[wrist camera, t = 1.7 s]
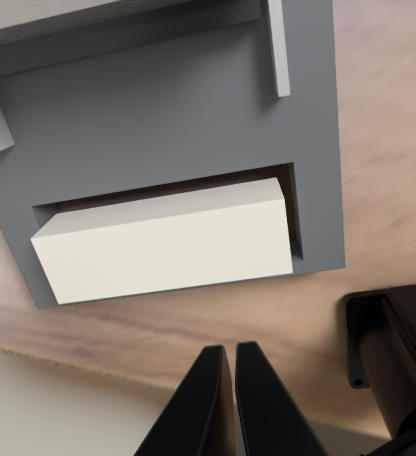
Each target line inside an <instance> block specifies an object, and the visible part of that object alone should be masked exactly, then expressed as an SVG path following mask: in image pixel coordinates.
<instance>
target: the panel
mask: <svg viewBox="0 0 416 456" xmlns="http://www.w3.org/2000/svg"><path fill="white" fill-rule="evenodd" d="M259 2H260V11H261V19H260V20H258V21H253V22H249V23H244V24H240V25H235V26H231V27H226V28H222V29H217V30H212V31H208V32H203V33H199V34H194V35H190V36H185V37H180V38H176V39H171V40H167V41H162V42H158V43H153V44H149V45H144V46H139V47H135V48H130V49H126V50H121V51H117V52H112V53H108V54H103V55H98V56H94V57H89V58H85V59H80V60H76V61H71V62H67V63H62V64H57V65H53V66H48V67H44V68H39V69H35V70H30V71H25V72H21V73H16V74H12V75H7V76H3V77H0V227H1V230H2V232H3V234H4V236H5V238H6V240H7V242H8V245H9V247H10V249H11V251H12V253H13V255H14V258H15V260H16V262H17V264H18V266H19V268H20V271H21V273H22V275H23V277H24V279H25V281H26V284H27V286H28V288H29V290H30V292H31V294H32V297H33V299H34V301H35V303H36V305H37V307H38V309H40V308H48V307H55V306H63V305H70V304H78V303H85V302H93V301H101V300H108V299H116V298H123V297H131V296H138V295H146V294H153V293H161V292H168V291H176V290H184V289H191V288H199V287H206V286H214V285H221V284H229V283H236V282H244V281H251V280H259V279H267V278H274V277H282V276H289V275H297V274H304V273H312V272H319V271H327V270H334V269H342V268H345V250H344V230H343V210H342V189H341V169H340V149H339V128H338V108H337V88H336V67H335V47H334V27H333V6H332V0H259ZM284 163H288V164H289V173H290V183H291V192H292V201H293V211H294V220H295V229H296V239H297V240H293V241H289V243H290V252H291V260H292V269H293V273H289V274H282V275H274V276H267V277H259V278H252V279H244V280H237V281H229V282H222V283H214V284H207V285H199V286H192V287H184V288H177V289H169V290H162V291H154V292H147V293H139V294H132V295H124V296H117V297H109V298H102V299H94V300H87V301H79V302H72V303H64V304H58V302H57V299H56V297H55V295H54V292H53V290H52V288H51V285H50V283H49V281H48V278H47V276H46V274H45V271H44V269H43V267H42V265H41V262H40V260H39V258H38V255H37V253H36V251H35V248H34V246H33V244H32V241H31V238H32V237H33V236H34V235H35V234H36V233H37V232H38V231H39V230H40V229H41V228H42V227H43V226H44V225H45V224H46V223H47V222H48V221H49V220H50V219H52V218H53V217H54V216H55V215H56V214H59V212H58V209H57V207H56V204H55V202H60V201H66V200H72V199H78V198H84V197H89V196H95V195H101V194H107V193H113V192H119V191H125V190H131V189H137V188H142V187H148V186H154V185H160V184H166V183H172V182H178V181H184V180H189V179H195V178H201V177H207V176H213V175H219V174H225V173H231V172H237V171H242V170H248V169H254V168H260V167H266V166H272V165H278V164H284Z"/></svg>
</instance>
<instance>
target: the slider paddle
mask: <svg viewBox="0 0 416 456" xmlns="http://www.w3.org/2000/svg"><path fill="white" fill-rule="evenodd" d="M260 19H261V11H260V2H259V0H0V77H3V76H7V75H12V74H16V73H21V72H25V71H30V70H35V69H39V68H44V67H48V66H53V65H57V64H62V63H67V62H71V61H76V60H80V59H85V58H89V57H94V56H98V55H103V54H108V53H112V52H117V51H121V50H126V49H130V48H135V47H139V46H144V45H149V44H153V43H158V42H162V41H167V40H171V39H176V38H180V37H185V36H190V35H194V34H199V33H203V32H208V31H212V30H217V29H222V28H226V27H231V26H235V25H240V24H244V23H249V22H253V21H258V20H260Z"/></svg>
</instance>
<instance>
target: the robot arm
mask: <svg viewBox="0 0 416 456" xmlns="http://www.w3.org/2000/svg"><path fill="white" fill-rule="evenodd" d="M355 301H358V302H357V303H356V304H354V305H352V304H351V303H352V302H355ZM344 320H345V338H346V357H347V376H348V380H349V383H350V386H351V387H352V388H355V389H361V388H371V390H372V392H373V395H374V397H375V400H376V402H377V405H378V407H379V409H380V412H381V414H382V417H383V419H384V422H385V424H386V426H387V429H388V431H389V434H390V436H391V439H392V440H390V441H388V442H387V443H385V444H383V445H381V446H380V447H378V448H376V449H375V450H373V451H371V452H369V453H368V454H366V455H363V454H361V455H359V456H416V285H409V286H401V287H393V288H388V289H380V290H372V291H364V292H356V293H351V294H348V295H347V296H346V297H345V298H344ZM357 379H359V380H357ZM235 392H236V400H237V405H238V411H239V416H240V422H241V428H242V434H243V439H244V445H245V450H246V456H329V455H328V453H327V452H326V450H325V449H324V447H323V446H322V444H321V442H320V441H319V439H318V437H317V436H316V434H315V433H314V431H313V430H312V428H311V427H310V425H309V423H308V422H307V420H306V419H305V417H304V416H303V414H302V412H301V411H300V409H299V408H298V406H297V405H296V403H295V401H294V400H293V398H292V397H291V395H290V394H289V392H288V390H287V389H286V387H285V386H284V384H283V383H282V381H281V379H280V378H279V376H278V375H277V373H276V372H275V370H274V368H273V367H272V365H271V364H270V362H269V361H268V359H267V357H266V356H265V354H264V353H263V351H262V350H261V348H260V346H259V345H258V343H257V342H256V341H245V342H238V343H237V345H236V369H235ZM234 427H235V426H234V410H233V393H232V380H231V373H230V369H229V364H228V360H227V355H226V351H225V348H224V346H223V345H221V344H219V345H210V346H205V347H204V348H203V349H202V351H201V352H200V354H199V355H198V357H197V358H196V360H195V361H194V363H193V365H192V366H191V368H190V369H189V371H188V372H187V374H186V375H185V377H184V378H183V380H182V382H181V383H180V385H179V386H178V388H177V389H176V391H175V392H174V394H173V395H172V397H171V399H170V400H169V402H168V403H167V405H166V406H165V408H164V409H163V411H162V412H161V414H160V416H159V417H158V419H157V421H156V422H155V423H154V425H153V426H152V428H151V430H150V431H149V433H148V434H147V436H146V437H145V439H144V440H143V442H142V443H141V445H140V447H139V448H138V450H137V451H136V453H135V454H134V456H236V443H235V428H234Z"/></svg>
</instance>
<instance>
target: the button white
mask: <svg viewBox="0 0 416 456" xmlns="http://www.w3.org/2000/svg"><path fill="white" fill-rule="evenodd" d="M31 241H32V244H33V246H34V248H35V251H36V253H37V255H38V258H39V260H40V262H41V265H42V267H43V269H44V271H45V274H46V276H47V278H48V281H49V283H50V285H51V288H52V290H53V292H54V295H55V297H56V299H57V302H58V304H64V303H72V302H79V301H87V300H94V299H102V298H109V297H117V296H124V295H132V294H139V293H147V292H154V291H162V290H169V289H177V288H184V287H192V286H199V285H207V284H214V283H222V282H229V281H237V280H244V279H252V278H259V277H267V276H274V275H282V274H289V273H293V269H292V260H291V252H290V243H289V235H288V226H287V218H286V209H285V200H284V196H283V194H282V191H281V188H280V185H279V182H278V180H277V177H276V178H270V179H264V180H258V181H252V182H246V183H240V184H234V185H228V186H222V187H216V188H210V189H204V190H198V191H192V192H186V193H180V194H174V195H167V196H161V197H155V198H149V199H143V200H137V201H131V202H125V203H119V204H113V205H107V206H101V207H95V208H89V209H83V210H77V211H71V212H65V213H59V214H56V215H55V216H54V217H53V218H52V219H50V220H49V221H48V222H47V223H46V224H45V225H44V226H43V227H42V228H41V229H40V230H39V231H38V232H37V233H36V234H35V235H34V236H33V237H32V238H31Z"/></svg>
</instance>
